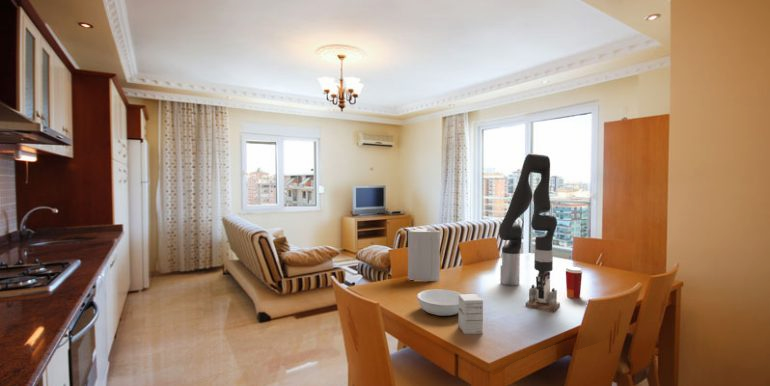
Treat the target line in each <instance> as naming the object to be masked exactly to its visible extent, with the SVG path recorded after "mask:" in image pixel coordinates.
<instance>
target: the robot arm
mask: <svg viewBox="0 0 770 386" xmlns="http://www.w3.org/2000/svg"><path fill="white" fill-rule="evenodd" d="M522 163H523V164H522V167H521V171H520V175H519V178H518V182H517V185H516V187H515V189H514V192H513V194H512V198H511V200H510V204H509V206H508V209H507V211H506V213H505V216H504V217H503V220H502V221H501V224H500V225H499V229H498V236H499V238H500V240H502V241H509V242H508V243H507V244H505V245H503V246H502V247H501V265H500V279H499V281H500V284H503V285H505V286H512V287H513V286H514V287H515V286H519V285H520V275H521V271H520V270H521V269H520V265H521V264H520V261H521V260H520V259H521V258H520V257H521V248H522V239H523V238H522V237H523V230H522V227H521V224H519V223H517V222H516V220H517V219H519V218H520V217H521V216H522V215H523V214H524V213H525V212H526V211H528V208H529V207H530V205H531V203H532V201H533V213H532V217H531V218H532V219H531V221H530V222H531V224H530V225H531V228H532V230H534V231H536V232H537V231H538V232H540V231H542V232H546V233H545V234H543V235H538V236H536V237H535V240H534V241H535V242H534V245H535V247H534V261H533V264H534V265H533V266H534V270H535V271H538V273H537V276H536V277H535V281H536V282H535V284H536V287H537V289H538V298H540V299H543V298H544V286H545V285H546V280H547V279H550V278H551V272H552V271H553V267H554V266H553V259H554V256H553V255H554V253H553V239H554V235H555V232H556V229H557V226H558V220H557V218H556V217H555V215H552V214H551V215H549V214H548V215H545V214H544V213H548V212H549V211H551V209H552V208H551V200H550V199H551V198H550V197H551V196H550V181H551V179H550V178H551V160H550V157H549V156H548V155H546V154H539V153H535V152H534V153H532V152H530V153H528V154H526V156H525V158H524V160H523V162H522ZM531 173H534V174H540V181H539V183H538V184H537V186H536V187H535V189H534V190H533V191H532V188H531V184H530V181H529V179H530V175H531ZM543 214H544V215H543ZM550 280H551V279H550ZM543 281H544V283H543ZM540 285H541V287H540Z"/></svg>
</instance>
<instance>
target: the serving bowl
mask: <svg viewBox="0 0 770 386" xmlns="http://www.w3.org/2000/svg"><path fill="white" fill-rule="evenodd" d="M459 295H463V294H462V293H460V292H458V291H454V290H450V289H449V290H448V289H439V288H436V289H426V290H423V291H420V292H419V293H417V301H418V305H419V306H420V308H421V309H422V310H423V311H425V312H427V313H428V314H432V315H436V316H442V317H445V316H447V317H449V316H452V315H453V316H454V315H457V314H459Z"/></svg>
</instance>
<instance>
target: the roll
mask: <svg viewBox="0 0 770 386" xmlns="http://www.w3.org/2000/svg"><path fill="white" fill-rule="evenodd" d="M543 283H544V281H543ZM540 287H541V285H540ZM550 292H551V279H547V280H546V285H545V286H544V298H543V299H540V298H538V289H537V288H536V301H537V302H540V303H549V302H550Z"/></svg>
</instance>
